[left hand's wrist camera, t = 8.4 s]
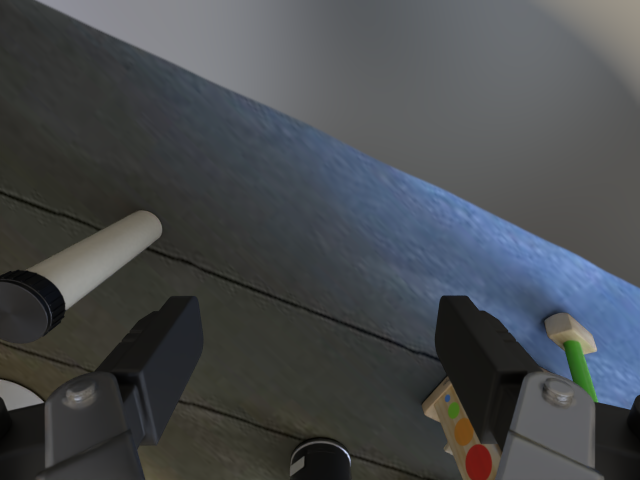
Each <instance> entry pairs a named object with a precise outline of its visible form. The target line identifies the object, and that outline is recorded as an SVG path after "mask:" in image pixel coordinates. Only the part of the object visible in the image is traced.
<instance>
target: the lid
mask: <svg viewBox="0 0 640 480" xmlns="http://www.w3.org/2000/svg"><path fill="white" fill-rule="evenodd" d="M65 311H66V310H65V301H64V298H63V295H62V294H61V292H60V291H59V289H58V288H57V287H56V286H55V285H54V284H53V283H52V282H51V281H50V280H48V279H47V278H45V277H44V276H42V275H40V274H37V273H34V272H30V271H28V270H26V271H21V270H20V271H19V270H16V271H13V272H11V271H9V272H7V273H5V274H3V275H1V276H0V339H3V340H5V341H8V342H12V343H29V342H33V341H35V340H37V339H39V338H40V337H43V336H45V335H46V334H47V333H48V332H49V331H51V330H52V329H53V328H54V327H56V326H57V325H58V324H59V323H61V320H62V319H63V318H64V314H65Z"/></svg>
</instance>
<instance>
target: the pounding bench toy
mask: <svg viewBox="0 0 640 480" xmlns="http://www.w3.org/2000/svg"><path fill="white" fill-rule="evenodd" d="M544 322H545V327H546V332H547V336H548V337H549V338H550V339H551V340H552V341H553V342H554V343H556V344H557V345H558V346H559V347H560V348H562V349H563V350H564V351H565V353H566V357H567V360H568V364H569V368H570V372H571V375H572V379H573V382H574V383H576V384H578V385H579V386H580V387H582V388H583V389H584V390H585V391H586V392H587V393H588V394H589V395H590V396H591V398H592V399H593V401H594V402H598V400H597V396H596V393H595V390H594V386H593V383H592V380H591V377H590V373H589V370H588V367H587V364H586V360H585V357H584V354H588V353H592V352H596V351H597V348H596V345H595V342H594V339H593V336H592V334H591V333H589V332H588V331H587V330H586V329H585V328H584V327H583V326H582V325H580V324H579V323H578V322H577V321H576V320H575V319H574V318H573V317H571V316H570V315H569V314H568V313H558V314H555V315H552V316H550V317H549V318H547V319H546V320H545V321H544ZM540 368H541V367H540ZM541 369H542V370H543V371H544V372H549V371H547V370H545V369H543V368H541ZM549 373H550V372H549ZM422 408H423V411H424V414H425V415H426V416H428V417H430V418H432V419H434V420H436V421H438V422H440V423H441V425H442V427H443V430H444V433H445V435H446V438H447V440H448V443H447V444H446V445H445V447H444V450H445V451H446V452H448V453H450V454H452V455H454V458H455V460H456V463H457V466H458V468H459V471H460V473H461V476H462V478H463V480H495V477H496V474H497V470H498V466H499V463H500V459H501V456H502V451H501V449H500V447H499V445H498V444H481V443H480V441H479V439H478V437H477V435H476V433H475V431H474V429H473V427H472V425H471V423H470V421H469V419H468V417H467V414H466V412H465V410H464V408H463V406H462V404H461V402H460V400H459V398H458V396H457V394H456V392H455V390H454V388H453V386H452V384H451V382H450V380H449V378H448V376H447V377H446V378H445V379H444V380H443V382H442V383H441V384H440V385H439V386H438V387H437V388H436V389H435V390H434V391H433V393H432V394H431V395H430V396H429V397H428V398H427V399H426V400H425V401H424V403H423V404H422Z"/></svg>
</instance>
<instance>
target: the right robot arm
mask: <svg viewBox="0 0 640 480" xmlns="http://www.w3.org/2000/svg"><path fill="white" fill-rule="evenodd" d="M0 397H1V398H2V399H3V400H4V403H5V405H6V408H7V410H8V411H9V410H14V409H18V408H22V407H27V406H31V405H36V404H40V403H44V402H43V401H42V400H41V399H40V398H39V397H38V396H37V395H35V394H34V393H33V392H31V391H30V390H28V389H26V388H24V387H22V386H20V385H18V384H15V383H13V382H9V381H6V380H1V379H0Z"/></svg>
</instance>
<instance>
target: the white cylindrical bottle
mask: <svg viewBox="0 0 640 480" xmlns="http://www.w3.org/2000/svg"><path fill="white" fill-rule="evenodd" d="M161 234H162V225H161V223H160V221H159V219H158V218H157V217H156V216H155V215H154V214H152V213H150V212H148V211H142V210H141V211H136V212H134V213H132V214H130V215H128V216H126V217H124V218H122V219H120V220H119V221H117V222H115V223H113V224H111V225H109V226H107V227H105V228H103V229H102V230H100V231H98V232H96V233H94V234H92V235H90V236H88V237H86V238H85V239H83V240H81V241H79V242H77V243H75V244H73V245H71V246H69V247H68V248H66V249H64V250H62V251H60V252H58V253H56V254H54V255H52V256H51V257H49V258H47V259H45V260H43V261H41V262H39V263H37V264H35V265H34V266H32V267H30V268H28V269H26V270H28V271H30V272H34V273H37V274H40V275H42V276H44V277H45V278H47V279H48V280H50V281H51V282H52V283H53V284H54V285H55V286H56V287H57V288H58V289H59V291H60V292H61V294H62V295H63V298H64V301H65V310H68V309H69V308H70V307H72V306H73V305H74V304H75V303H77V302H78V301H79V300H81V299H82V298H83V297H84V296H86V295H87V294H88V293H90V292H91V291H92V290H94V289H95V288H96V287H97V286H99V285H100V284H101V283H103V282H104V281H105V280H106V279H108V278H109V277H110V276H112V275H113V274H114V273H115V272H117V271H118V270H119V269H121V268H122V267H123V266H124V265H126V264H127V263H128V262H130V261H131V260H132V259H133V258H135V257H136V256H137V255H139V254H140V253H141V252H142V251H144V250H145V249H146V248H148V247H149V246H150V245H152V244H153V243H154V242H155V241H157V240H158V239H159V238H160V236H161ZM26 270H24V271H26Z"/></svg>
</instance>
